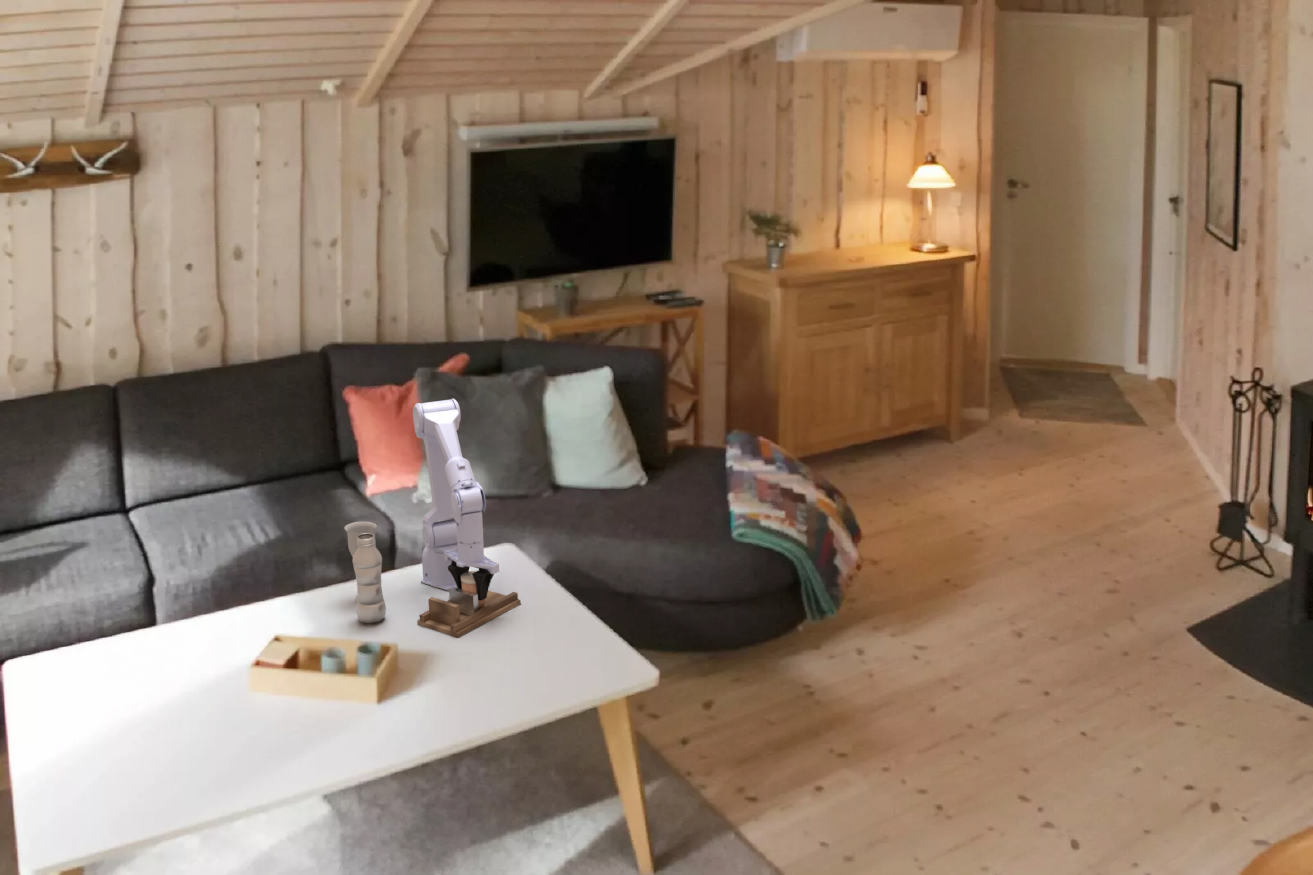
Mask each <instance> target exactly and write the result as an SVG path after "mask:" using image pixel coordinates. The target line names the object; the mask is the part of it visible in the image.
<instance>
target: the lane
mask: <svg viewBox="0 0 1313 875" xmlns="http://www.w3.org/2000/svg"><path fill="white" fill-rule="evenodd" d="M427 600H428V610H426V611H424V612H422V613H420V614H419V619H417V621H416V622H417V625H418V626H421V627H424V628H427V629H429V630H433V631H437V632H440V633H441V634H445V635H448V636H452V637H454V638H458V639H459V638H461V637H463V636H464V635H466V634H468V633H469V632H471V631H474V630H475V629H477V628H479V627H480V626H483V625H484V624H487V623H488V622H490V621H491V620H494V619H495V618H497V617H499V616H501V615H503V614H504V613H506V612H508V611H510V610H512V609H515V608H516V607H518V606H520V605H521V604H522V603H521V599H519V597H518V592H516V591H513V592H510V593H509V594H506V595H505V594H503V593H498V592H495V591H492V590H490V589H488V593H487V598H485V605H484V606H483V607H481V608H478V611H476V612H474V613H473V614H471V615H466V614H463V613H460V608H459V605H457V604H454V603H450V602H449V599H448V600H444V599H440V598H438V597H434V596H431V597H429V598H428V599H427Z"/></svg>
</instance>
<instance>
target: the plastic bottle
mask: <svg viewBox="0 0 1313 875" xmlns="http://www.w3.org/2000/svg"><path fill="white" fill-rule="evenodd" d="M357 541H358V542H357V545H358V546H359V547H358V549H357V550H356V552H355V554H354V556H353V557H352V565H353V570H354V574H355V581H356V586H357V593H356V594H357V595H356V596H357V603H356V607H355V608H356V610H355V611H356V616H357V618H358V620H359V621H360V622H362V623H365V624H373V623H377V622H380V621H382V620H383V619H384V617H385V616H386V612H387V605H386V602H385V599H384V594H383V593H384V592H383V589H382V588H383V587H382V567H383V556H382V554H381V552H380V551H379V549H378V548H377V546H376V547H375V546H374V544H375V541H376V540H375V541H374V535H373V534H370V533H365V534H361V535H359V536H358V537H357Z"/></svg>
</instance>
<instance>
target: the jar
mask: <svg viewBox="0 0 1313 875" xmlns="http://www.w3.org/2000/svg"><path fill="white" fill-rule="evenodd" d="M476 571H477V570H469V571H468V572H465V573H463V574H462V575H461V583H462V589H463V590H466V591H470V592H473V593H476V594H477V587H476V583H475V580H474V577H473V575H472V573H474V572H476ZM484 605H485V599H483V600H481V601H480V600H478V608H481V607H483V606H484Z"/></svg>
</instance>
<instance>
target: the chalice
mask: <svg viewBox="0 0 1313 875" xmlns="http://www.w3.org/2000/svg"><path fill="white" fill-rule="evenodd" d="M377 527H378V525H377V524H376V523H374V522H372V521H371V522H370V521H355V522H350V523H349V524H348V523H347V524H346V525H345V526H344V530H345V532H346V534H347V545H348V546H347V547H348V551H349V552H350V554H351V557H352V558H353V556H354V554H355V552H356V550H357V549H358V547H359V546H358V545H357V542H358V541H357V537H358V536H359V535H361V534H365V533H370V534H373V535H374V541H375V544H374V546H375V547H376V548H377V546H376V545H377V542H376V529H377ZM354 602H355V603H356V604H357V595H356V598H355V600H354Z"/></svg>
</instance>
